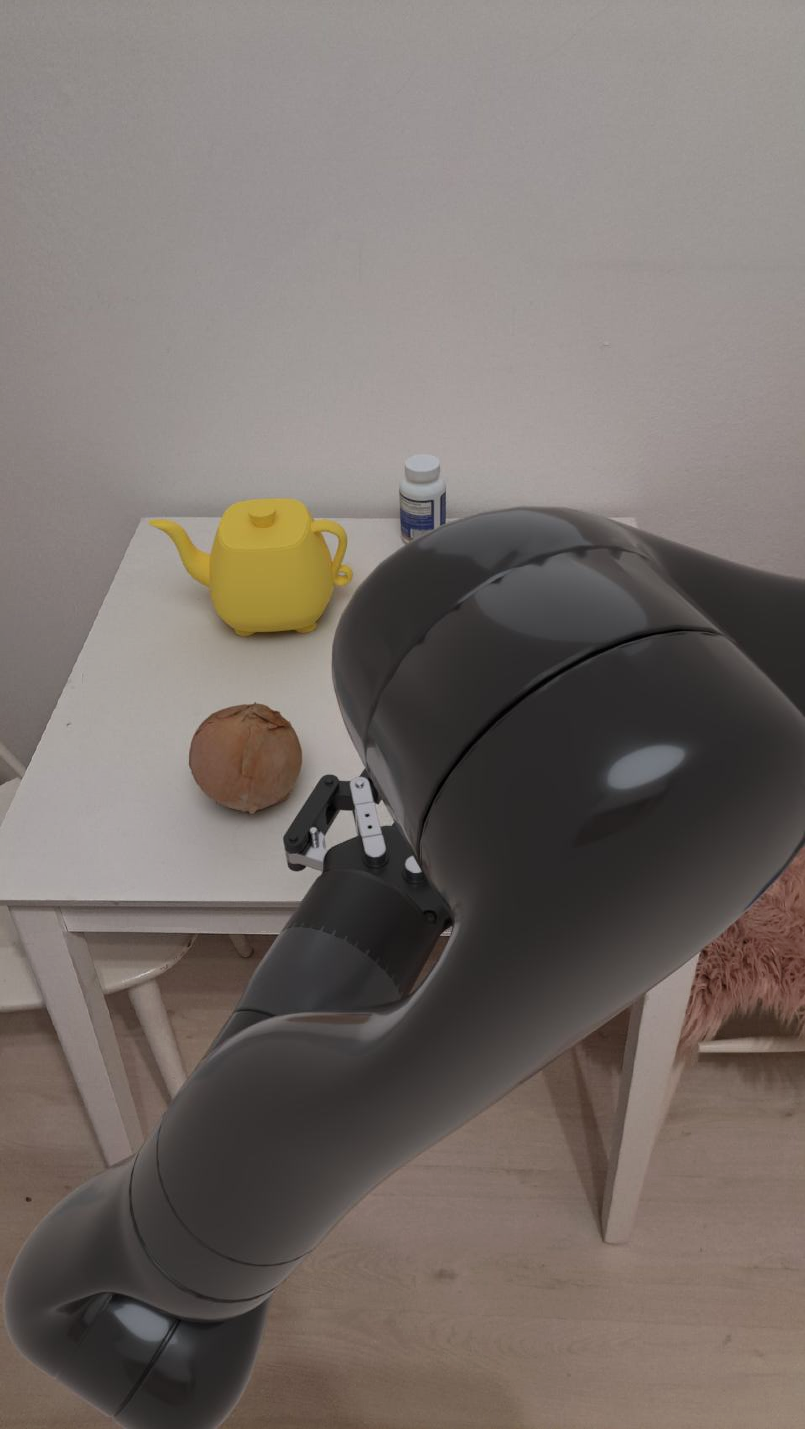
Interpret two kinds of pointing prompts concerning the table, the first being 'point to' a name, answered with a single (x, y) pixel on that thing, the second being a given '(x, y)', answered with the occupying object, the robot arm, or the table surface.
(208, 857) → the table surface
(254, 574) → the teapot
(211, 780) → the onion
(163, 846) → the table surface
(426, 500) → the pill bottle
